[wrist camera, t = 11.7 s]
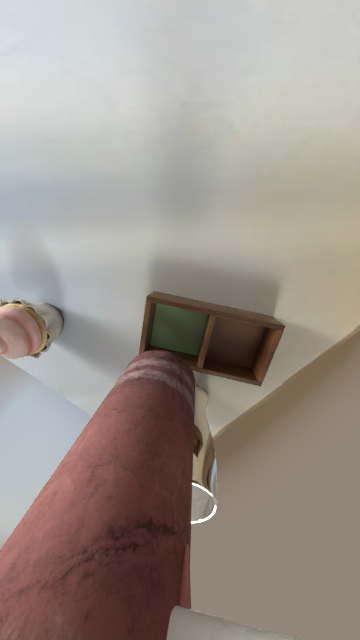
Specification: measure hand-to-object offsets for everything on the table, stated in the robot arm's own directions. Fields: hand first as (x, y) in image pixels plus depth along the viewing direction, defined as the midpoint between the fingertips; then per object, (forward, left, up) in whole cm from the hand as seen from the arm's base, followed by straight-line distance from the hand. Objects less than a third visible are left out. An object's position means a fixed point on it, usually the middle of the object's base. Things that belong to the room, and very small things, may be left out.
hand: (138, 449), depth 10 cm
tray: (0, +4, -20) cm, 20 cm away
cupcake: (+4, -22, -20) cm, 30 cm away
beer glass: (+13, +5, -20) cm, 25 cm away
